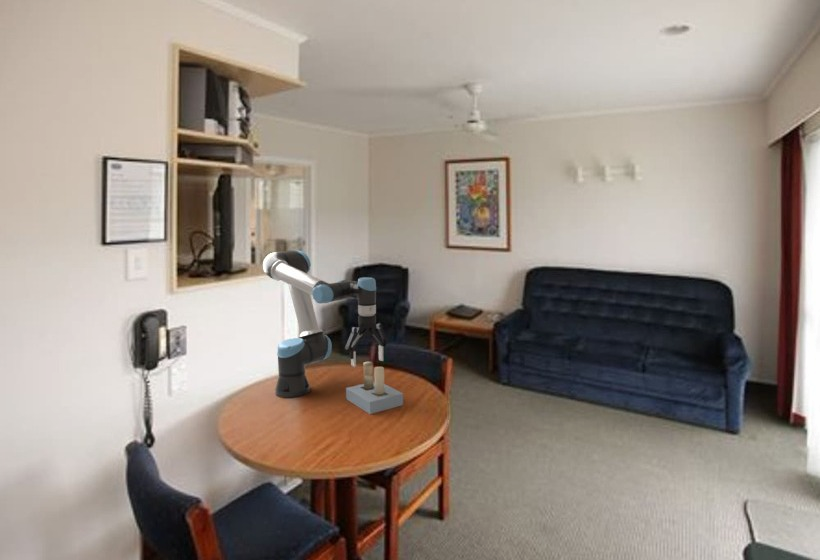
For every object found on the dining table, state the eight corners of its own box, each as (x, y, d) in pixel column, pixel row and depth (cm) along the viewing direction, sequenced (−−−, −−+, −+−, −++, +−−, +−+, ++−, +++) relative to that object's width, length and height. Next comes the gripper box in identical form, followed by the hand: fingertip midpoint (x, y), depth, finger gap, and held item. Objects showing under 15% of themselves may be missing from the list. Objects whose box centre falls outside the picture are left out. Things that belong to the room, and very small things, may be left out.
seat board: (346, 399, 208) (345, 363, 206) (377, 391, 217) (377, 356, 215) (370, 414, 192) (369, 375, 190) (403, 405, 201) (402, 367, 199)
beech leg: (362, 398, 208) (361, 362, 206) (370, 396, 211) (369, 361, 209) (367, 401, 205) (366, 365, 203) (375, 399, 207) (374, 363, 205)
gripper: (344, 319, 193) (345, 370, 196) (396, 312, 207) (396, 360, 210) (336, 316, 199) (337, 365, 202) (387, 309, 213) (387, 356, 216)
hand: (367, 363), depth 206 cm, fingers open, 13 cm apart
